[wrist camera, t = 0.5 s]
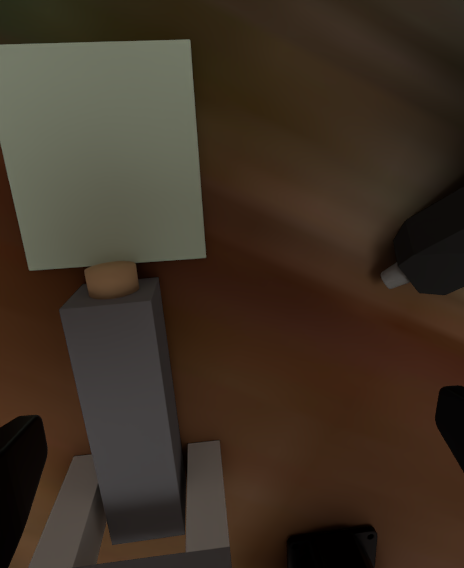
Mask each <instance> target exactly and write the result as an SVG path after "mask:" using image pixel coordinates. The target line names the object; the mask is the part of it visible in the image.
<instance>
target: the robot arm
mask: <svg viewBox="0 0 464 568" xmlns="http://www.w3.org/2000/svg"><path fill="white" fill-rule="evenodd" d="M435 421H436V425H437V427H438V429H439V431H440V433H441V435H442V436H443V438H444V440H445V441H446V443H447V445H448V446H449V448H450V450H451V452H452V453H453V455H454V457H455V458H456V460H457V462H458V463H459V465H460V467H461V469H462V470H463V472H464V387H463V386H458V385H457V386H445V387H442V388H441V389H440V391H439V396H438V402H437V408H436V414H435ZM46 458H47V442H46V437H45V432H44V427H43V422H42V419H41V417H40V416H38V415H28V416H19V417H17V418H15V419H13V420H12V421H10V422H9V423H7V424H5V425H4V426H2V427H0V568H8V567H9V565H10V562H11V560H12V558H13V555H14V553H15V551H16V548H17V546H18V543H19V541H20V538H21V536H22V533H23V531H24V528H25V525H26V522H27V519H28V516H29V513H30V510H31V506H32V503H33V500H34V497H35V494H36V490H37V487H38V484H39V481H40V478H41V474H42V471H43V468H44V465H45V462H46ZM376 545H377V533H376V531H375V529H374V528H373V527H371V526H368V527H360V528H353V529H345V530H338V531H330V532H323V533H315V534H308V535H300V536H293V537H291V538H289V539H288V540H287V568H375V556H376Z"/></svg>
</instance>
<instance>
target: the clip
mask: <svg viewBox="0 0 464 568" xmlns="http://www.w3.org/2000/svg"><path fill="white" fill-rule="evenodd" d="M106 522H107V519H106V515H105V510H104V506H103V502H102V497H101V493H100V488H99V484H98V479H97V475H96V471H95V466H94V462H93V457H92V454H91V455H82V456H74V457H73V460H72V462H71V465H70V467H69V469H68V472H67V474H66V477H65V479H64V482H63V484H62V487H61V489H60V491H59V494H58V496H57V499H56V501H55V504H54V506H53V508H52V511H51V513H50V516H49V518H48V521H47V523H46V525H45V528H44V530H43V533H42V535H41V538H40V540H39V543H38V545H37V547H36V550H35V552H34V555H33V557H32V560H31V562H30V564H29V567H28V568H232V566H231V555H230V545H229V534H228V524H227V513H226V503H225V492H224V482H223V471H222V461H221V451H220V440H218V441H209V442H199V443H190V444H188V464H187V516H186V552H185V553H178V554H170V555H163V556H155V557H148V558H140V559H133V560H125V561H118V562H110V563H103V564H96V563H97V559H98V555H99V550H100V546H101V542H102V538H103V534H104V530H105V526H106Z"/></svg>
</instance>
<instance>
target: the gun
mask: <svg viewBox="0 0 464 568" xmlns="http://www.w3.org/2000/svg"><path fill="white" fill-rule="evenodd" d="M393 242H394V248H395V254H396V259H397V262H396V263H395V264H393V265H392V266H390V267H389V268H387V269H386V270H384V271H383V272H382V273H381V278H382V280H383V282H384V283H385V285H386V286H387V287H388V288H389V289H392V288H394V287H397V286H400V285H403V284H406V283H409V282H411V283H412V285H413V286H414V287H415V288H416V290H417V291H418V292H419V293H425V294H437V295H446V294H449V293H451V292H453V291H455V290H458V289H460V288H462V287H464V187H462V188H460V189H459V190H457V191H455V192H453V193H452V194H450V195H448V196H447V197H445V198H443V199H441V200H440V201H438V202H436V203H435V204H433V205H431V206H429V207H428V208H426V209H424V210H423V211H421V212H419V213H417V214H416V215H414V216H412V217H411V218H409V219H407V220H406V221H405V222H404V224H403V225H402V227H401V229H400V230H399V232H398V234H397V235H396V237H395V238H394V240H393Z"/></svg>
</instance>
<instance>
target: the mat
mask: <svg viewBox="0 0 464 568" xmlns="http://www.w3.org/2000/svg"><path fill="white" fill-rule="evenodd" d="M0 143H1V147H2V152H3V156H4V161H5V165H6V170H7V174H8V179H9V183H10V188H11V192H12V196H13V201H14V205H15V210H16V214H17V219H18V223H19V228H20V232H21V237H22V241H23V246H24V250H25V254H26V259H27V263H28V268H29V271H32V270H46V269H59V268H73V267H87V266H94V265H97V264H101V263H107V262H114V261H131V262H134V263H142V262H156V261H170V260H183V259H197V258H206V249H205V235H204V222H203V208H202V194H201V181H200V167H199V154H198V140H197V127H196V113H195V99H194V86H193V72H192V59H191V45H190V40H156V41H119V42H82V43H45V44H8V45H0Z"/></svg>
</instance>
